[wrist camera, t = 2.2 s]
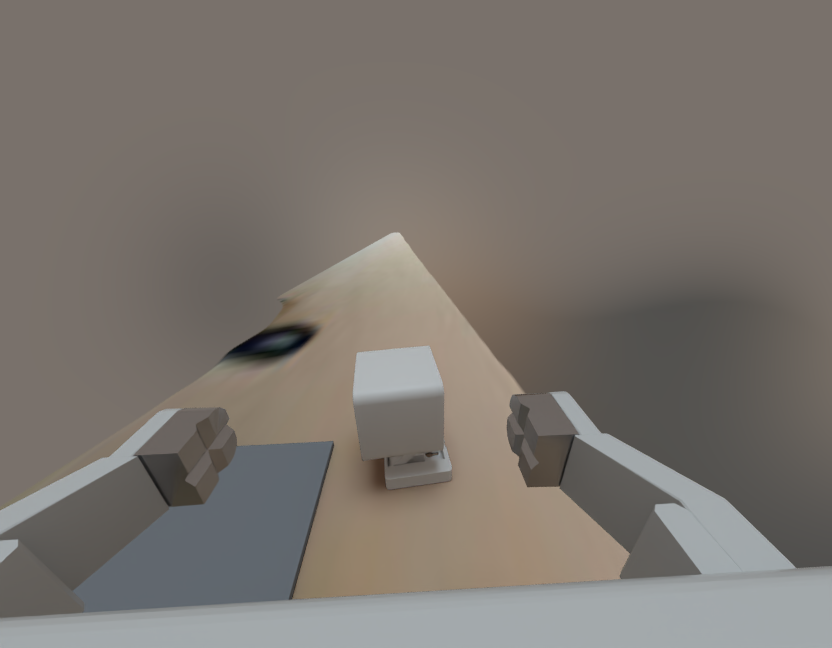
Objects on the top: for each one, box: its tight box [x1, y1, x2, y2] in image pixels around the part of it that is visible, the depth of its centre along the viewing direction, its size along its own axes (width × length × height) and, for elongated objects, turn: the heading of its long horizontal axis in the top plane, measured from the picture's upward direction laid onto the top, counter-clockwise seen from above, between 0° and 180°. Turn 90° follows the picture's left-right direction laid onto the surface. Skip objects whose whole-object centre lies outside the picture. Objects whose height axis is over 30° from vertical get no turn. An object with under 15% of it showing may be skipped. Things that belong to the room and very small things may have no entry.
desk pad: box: [73, 441, 334, 613], centre depth 21 cm, size 16×16×1 cm
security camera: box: [353, 346, 452, 490], centre depth 24 cm, size 6×7×10 cm
